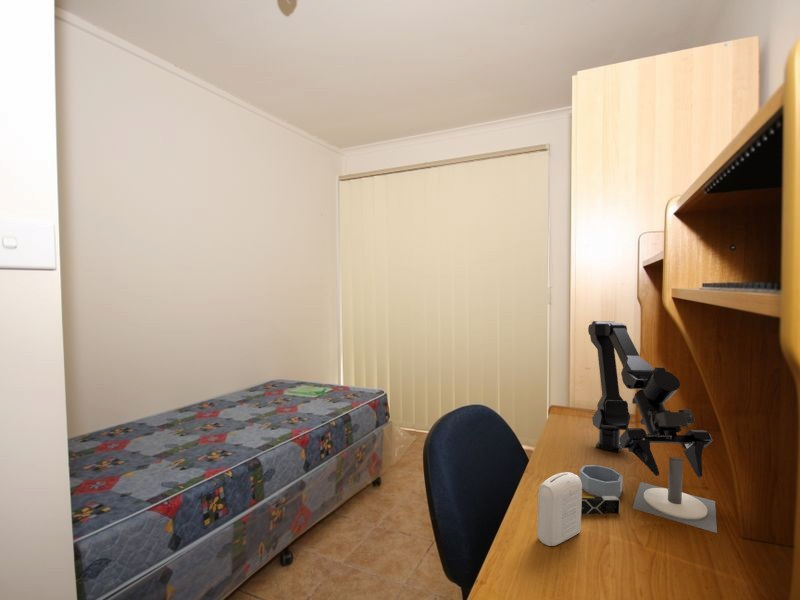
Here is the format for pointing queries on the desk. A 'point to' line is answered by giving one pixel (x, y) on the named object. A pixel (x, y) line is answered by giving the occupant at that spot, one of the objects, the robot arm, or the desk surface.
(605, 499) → the graphics card
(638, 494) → the mat
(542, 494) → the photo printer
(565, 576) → the desk surface
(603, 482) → the bowl
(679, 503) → the lid
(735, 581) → the desk surface
